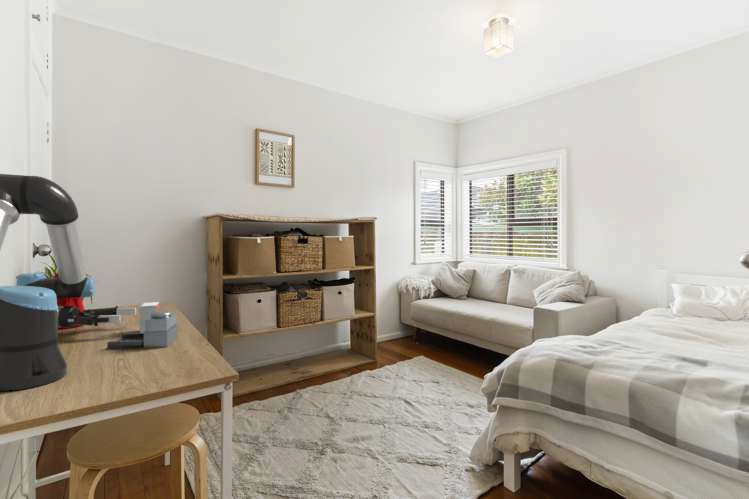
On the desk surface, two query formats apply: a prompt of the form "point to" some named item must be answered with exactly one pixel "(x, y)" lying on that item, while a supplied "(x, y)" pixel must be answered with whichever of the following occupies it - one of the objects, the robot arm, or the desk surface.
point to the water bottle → (70, 303)
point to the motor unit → (150, 333)
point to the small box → (147, 313)
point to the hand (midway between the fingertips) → (128, 315)
